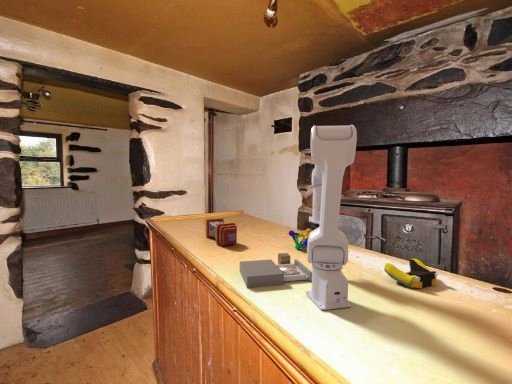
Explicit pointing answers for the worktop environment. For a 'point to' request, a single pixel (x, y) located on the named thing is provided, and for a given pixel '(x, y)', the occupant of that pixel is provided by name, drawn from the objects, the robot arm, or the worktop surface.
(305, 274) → the tray
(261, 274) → the box
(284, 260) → the walnut block
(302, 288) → the worktop surface
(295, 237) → the decorative model
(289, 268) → the disc
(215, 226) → the lantern
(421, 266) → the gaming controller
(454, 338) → the worktop surface
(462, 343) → the worktop surface
